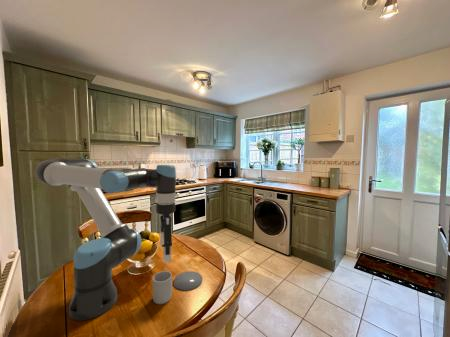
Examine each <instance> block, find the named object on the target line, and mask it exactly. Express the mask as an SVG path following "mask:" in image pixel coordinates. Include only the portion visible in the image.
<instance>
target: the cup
mask: <svg viewBox="0 0 450 337" xmlns="http://www.w3.org/2000/svg"><path fill="white" fill-rule="evenodd" d="M172 276H173V275H172V272H170V271H168V270H163V271H159V272H157V273H155V274H154V275H153V276H152V300H153V302H154V303H155V304H157V305H163V304H166V303H168V302H169V301H170V300H171V299H172V296H173V278H172Z"/></svg>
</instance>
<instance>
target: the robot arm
mask: <svg viewBox="0 0 450 337" xmlns="http://www.w3.org/2000/svg"><path fill="white" fill-rule="evenodd" d="M34 173H35V174H34V176H35V178H36V179H37V181H39V182H40V183H41V184H44V185H46V186H55V187H56V186H57V187H58V186H59V187H60V186H62V185H67V186H68V187H69V189H70V190H71V191H73V192H76V193H77V195H78V197H79V198H80V200H81V202H82V203H83V205H84V207H85V209H86V210H87V212H88V213H89V215H90V217H91V218H92V220H93V222H94V223H95V225H96V227H97V228H98V230H99V232H100V234H101V237H100V238H96V239H91V240H89V241H87V242H85V243H82V245H80V246H78V248H76V250H75V252H74V255H73V260H72V261H73V264H72V265H73V273H74V274H73V277H74V279H73V280H74V281H73V282H74V291H73V294H72V296H71V300H70V303H69V306H68V317H69V318H70V319H72V320H73V321H88V320H91V319H94V318H96V317H98V316H101V315H102V314H104V313H106V312H107V311H109V310H110V309H111V308H112V307H113V306H114V305H115V304H116V302H117V300H118V291H117V287H116V286H115V284H114V281H113V278H112V277H113V276H112V273H113V269H114V268H116V267H117V266H119V265H120V264H122V263H124V262H125V261H126V260H128V259H131V258H132V257H134V255H135V254H136V255H137V253H138V252H139V251H140V249H141V246H142V237H141V234H140V232H139V231H138V230H137V229H134V228H130V227H129V225H127V224H126V223H122V221H121V220H120V219H119V217H118V215H117V213H116V212H115V209H113V207H112V205H111V203H110V202H109V201H108V198H107V197H106V196H105V194H104V192H105V193H107V194H114V193H117V194H119V193H122V192H126V191H131V190H136V189H137V190H138V189H142V188H155V189H156V190H155V191H156V192H155V202H156V204H155V213H156V214H158V215H161V216H159V219H160V227H159V228H160V248H163V255H162V256H163V263H164V264H165V263H170V262H172V246H173V242H172V241H173V239H172V238H173V237H172V217H171V214H174V213H175V212H176V197H177V196H178V194H177V193H176V183H177V182H176V181H177V180H176V179H177V170H176V166H175V165H174V164H173V165H172V164H158V165H156V168H155V169H151V168H133V169H111V168H110V169H109V168H102V167H101V168H100V167H99V166H98V165H97V163H96V162H95V161H93V160H91V159H89V158H49V159H47V160H43V161H41V162H40V163H39V164H38V165H37V166H36V168H35V171H34ZM102 190H103V191H104V192H103V191H102Z"/></svg>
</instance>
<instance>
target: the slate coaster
mask: <svg viewBox="0 0 450 337" xmlns="http://www.w3.org/2000/svg"><path fill="white" fill-rule="evenodd" d="M202 282H203V276H202V274H201V273H199V272H196V271H193V270H191V271H190V270H189V271H183V272H181V273H179V274H177V275H176V276H175V277H174V278H173V280H172V285H173V286H174V288H175V289H177V290H179V291H192V290H195V289H197V288H198V287H199V286H201V284H202Z"/></svg>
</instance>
